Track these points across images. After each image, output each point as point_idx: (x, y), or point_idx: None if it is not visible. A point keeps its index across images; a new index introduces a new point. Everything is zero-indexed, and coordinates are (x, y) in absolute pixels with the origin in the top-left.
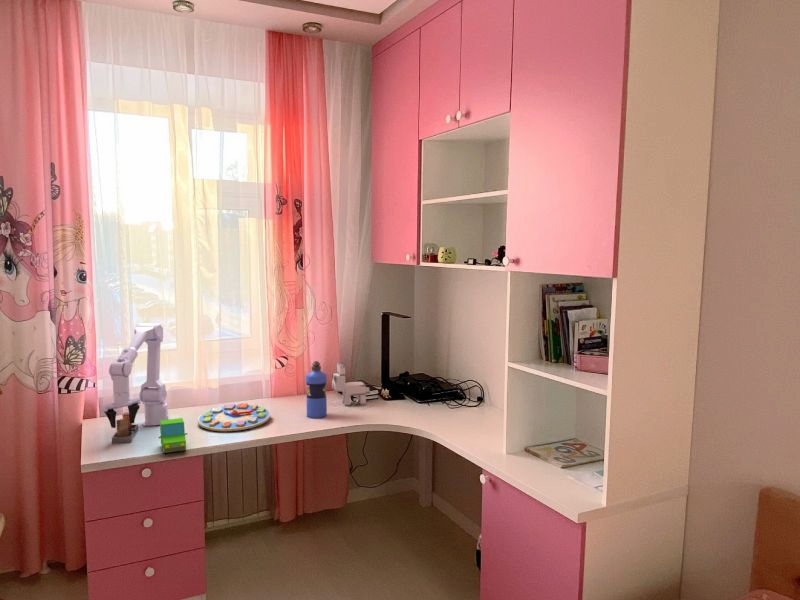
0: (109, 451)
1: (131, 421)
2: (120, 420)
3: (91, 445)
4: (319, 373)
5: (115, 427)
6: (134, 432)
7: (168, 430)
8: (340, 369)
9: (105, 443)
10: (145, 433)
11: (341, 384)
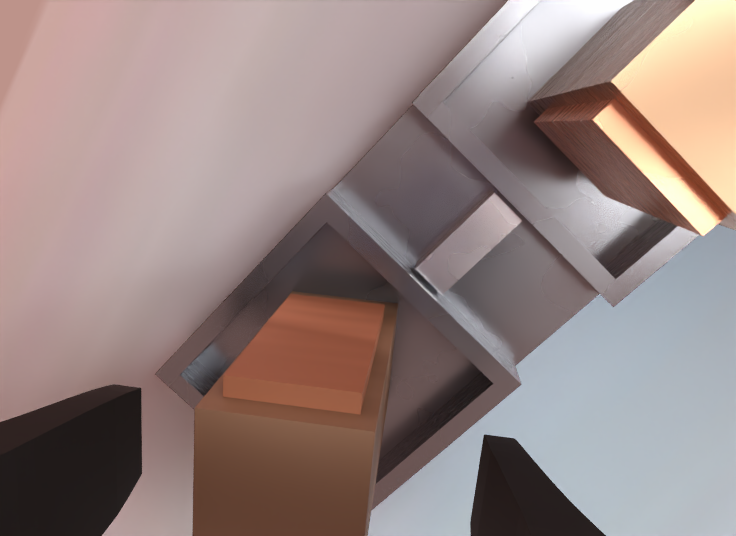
0: None
1: (478, 511)
2: (236, 504)
3: (11, 180)
4: None
5: (135, 479)
6: (570, 305)
7: None
8: None
9: (152, 259)
10: (698, 345)
11: None
